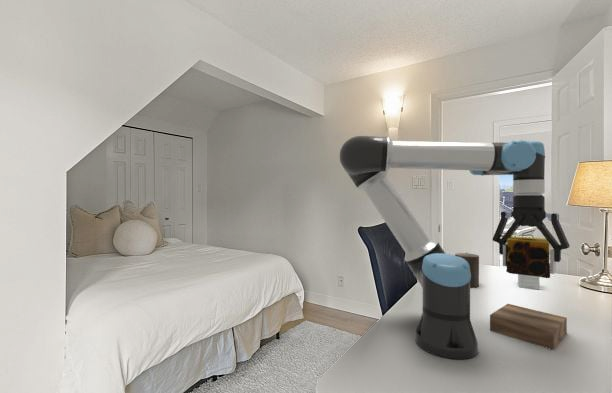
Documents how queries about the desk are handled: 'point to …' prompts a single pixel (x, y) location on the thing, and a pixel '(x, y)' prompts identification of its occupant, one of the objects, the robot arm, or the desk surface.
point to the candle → (528, 256)
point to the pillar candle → (472, 267)
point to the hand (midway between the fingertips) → (528, 269)
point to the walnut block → (529, 325)
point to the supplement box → (528, 281)
